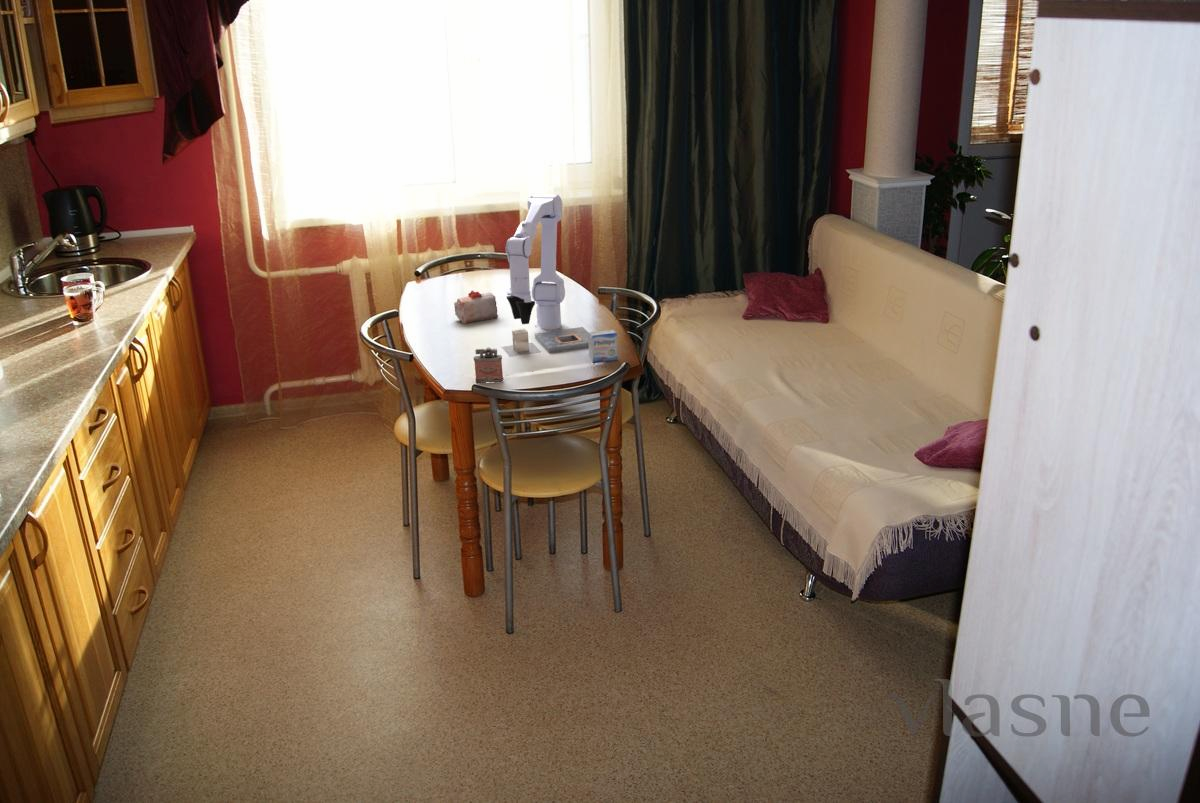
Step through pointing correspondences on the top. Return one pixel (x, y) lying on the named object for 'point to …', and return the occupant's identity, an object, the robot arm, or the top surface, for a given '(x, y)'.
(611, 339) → the medicine box
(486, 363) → the lighter
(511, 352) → the gray square plate
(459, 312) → the food item
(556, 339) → the hole plate
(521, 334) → the peg
